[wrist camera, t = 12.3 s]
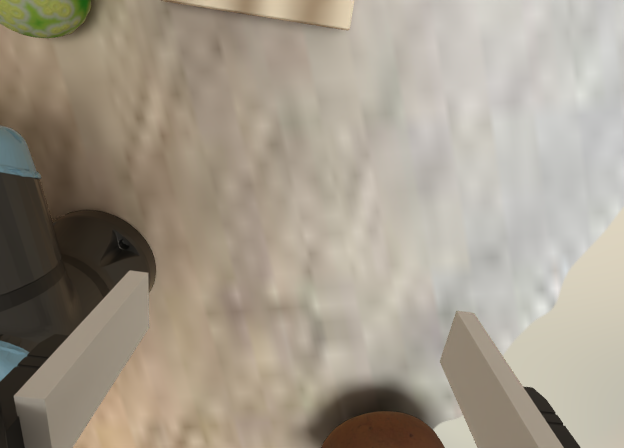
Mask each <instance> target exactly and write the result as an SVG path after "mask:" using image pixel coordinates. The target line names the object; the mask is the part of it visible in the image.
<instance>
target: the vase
mask: <svg viewBox="0 0 624 448" xmlns="http://www.w3.org/2000/svg"><path fill="white" fill-rule="evenodd" d="M321 448H445V447H444V446H443V444H442V442H441V441H440V439H439V438H438V436H437V435H436V433H435V432H434V431H433V430H432V429H431V428H430V427H429V426H428V425H427V424H425V423H424V422H423V421H421V420H420V419H418V418H416V417H414V416H411V415H408V414H405V413H400V412H392V411H379V412H372V413H366V414H362V415H359V416H356V417H353V418H351V419H349V420H347V421H345V422H344V423H342V424H341V425H339V426H338V427H337V428H335V429H334V430H333V431H332V432H331V433H330V434H329V436H328V437H327V438H326V440H325V441H324V443H323V445H322V447H321Z"/></svg>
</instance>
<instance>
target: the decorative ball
mask: <svg viewBox="0 0 624 448" xmlns="http://www.w3.org/2000/svg"><path fill="white" fill-rule="evenodd" d="M90 9H91V0H0V24H2V25H3V26H5V27H7V28H9V29H11V30H13V31H15V32H18V33H20V34H23V35H27V36H31V37H38V38H54V37H60V36H64V35H68V34H71V33H73V32H74V31H75V30H76V29H77V28H78V27H79V26H80V25H81V24H83V23H84V22H85V20H86V17H87V15H88V13H89V12H90Z"/></svg>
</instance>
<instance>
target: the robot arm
mask: <svg viewBox="0 0 624 448" xmlns="http://www.w3.org/2000/svg"><path fill="white" fill-rule="evenodd" d="M40 178H41V174H40V173H39V172H37V171H36V168H35V165H34V163H33V160H32V157H31V154H30V151H29V148H28V146H27V143H26V141H25V139H24V138H23V137H22V136H21V135H20V134H19V133H18V132H16V131H15V130H13V129H11V128H9V127H6V126H1V125H0V448H73V446H74V444H75V443H76V441H77V440H78V438H79V437H80V435H81V433H82V432H83V430H84V429H85V427H86V426H87V424H88V423H89V421H90V419H91V418H92V416H93V415H94V413H95V412H96V410H97V408H98V407H99V405H100V404H101V402H102V401H103V399H104V397H105V396H106V394H107V393H108V391H109V390H110V388H111V387H112V385H113V383H114V382H115V380H116V379H117V377H118V376H119V374H120V372H121V371H122V369H123V368H124V366H125V365H126V363H127V362H128V360H129V358H130V357H131V355H132V354H133V352H134V351H135V349H136V347H137V346H138V344H139V343H140V341H141V340H142V338H143V337H144V335H145V333H146V332H147V330H148V329H149V292H150V290H151V288H152V286H153V284H154V281H155V275H156V266H155V261H154V257H153V254H152V251H151V249H150V247H149V246H148V244H147V242H146V241H145V240H144V238H143V237H142V236H141V235H140V234H139V233H138V232H137V231H136V230H135V229H134V228H133V227H132V226H130V225H129V224H128V223H126V222H125V221H123V220H121V219H119V218H117V217H115V216H113V215H110V214H107V213H103V212H98V211H88V210H86V211H76V212H72V213H69V214H66V215H64V216H62V217H60V218H58V219H57V220H55V221H53V222H52V220H51V217H50V213H49V210H48V206H47V203H46V199H45V196H44V192H43V189H42V185H41V182H40ZM440 363H441V365H442V368H443V370H444V372H445V374H446V377H447V379H448V381H449V384H450V386H451V388H452V390H453V393H454V395H455V397H456V399H457V402H458V404H459V406H460V409H461V411H462V413H463V415H464V418H465V420H466V422H467V425H468V427H469V429H470V431H471V434H472V436H473V438H474V440H475V443H476V445H477V447H478V448H580V446H579V445H578V444H577V442H576V441H575V439H574V438H573V436H572V435H571V434H570V432H569V431H568V430H567V428H566V427H565V426H563V423H562V421H561V420H560V418H559V417H558V416H557V415H556V414H555V411H554V410H553V408H552V407H551V406H550V404H549V403H548V401H547V400H546V399H545V398H544V397H543V396H542V395H540V394H539V393H538V392H537V391H536V390H535V389H534V388H530V387H523V386H522V384H521V383H520V381H519V380H518V378H517V377H516V376H515V374H514V372H513V371H512V369H511V368H510V367H509V365H508V364H507V362H506V360H505V359H504V357H503V356H502V354H501V353H500V351H499V350H498V348H497V347H496V345H495V344H494V342H493V341H492V340H491V338H490V337H489V335H488V334H487V332H486V331H485V329H484V328H483V326H482V325H481V323H480V322H479V320H478V319H477V317H476V316H475V314H474V313H470V312H462V311H456V314H455V317H454V320H453V323H452V326H451V329H450V332H449V335H448V338H447V341H446V345H445V348H444V351H443V354H442V357H441V360H440Z"/></svg>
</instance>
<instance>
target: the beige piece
mask: <svg viewBox="0 0 624 448" xmlns="http://www.w3.org/2000/svg"><path fill="white" fill-rule="evenodd" d="M161 1H166V2H172V3H178V4H184V5H191V6H197V7H203V8H210V9H216V10H222V11H229V12H235V13H241V14H247V15H254V16H260V17H266V18H273V19H279V20H285V21H292V22H298V23H304V24H311V25H317V26H323V27H329V28H336V29H342V30H349V29H350V23H351V17H352V11H353V4H354V0H161Z"/></svg>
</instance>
